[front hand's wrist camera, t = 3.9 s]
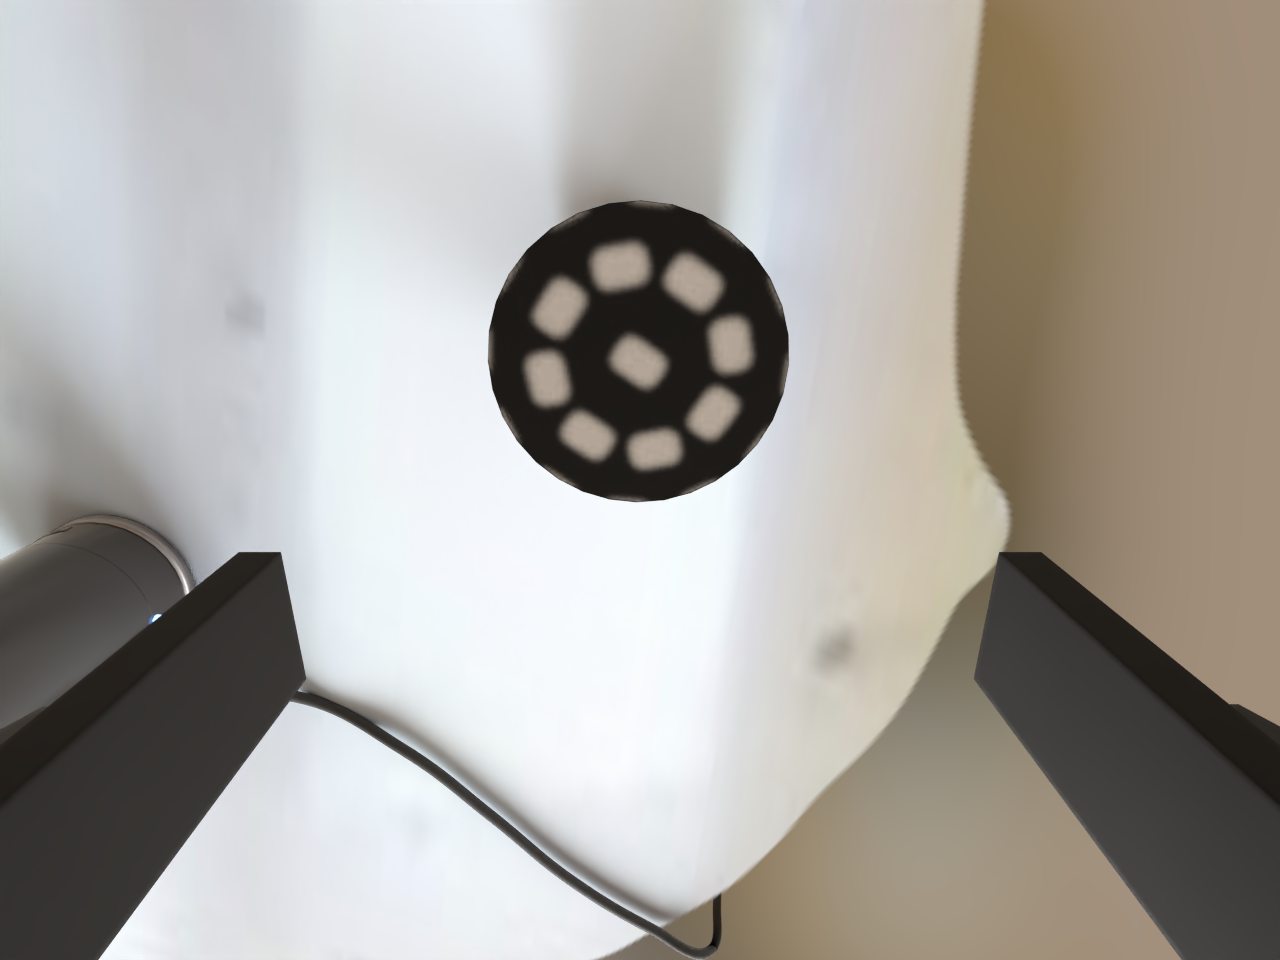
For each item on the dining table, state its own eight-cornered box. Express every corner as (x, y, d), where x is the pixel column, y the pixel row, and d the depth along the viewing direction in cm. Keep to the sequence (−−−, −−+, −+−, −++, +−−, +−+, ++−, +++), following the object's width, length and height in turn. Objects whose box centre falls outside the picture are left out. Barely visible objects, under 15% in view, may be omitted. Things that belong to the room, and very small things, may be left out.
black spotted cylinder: (535, 315, 38) (433, 400, 19) (618, 181, 36) (595, 129, 17) (657, 398, 40) (673, 551, 21) (745, 275, 37) (851, 323, 19)
